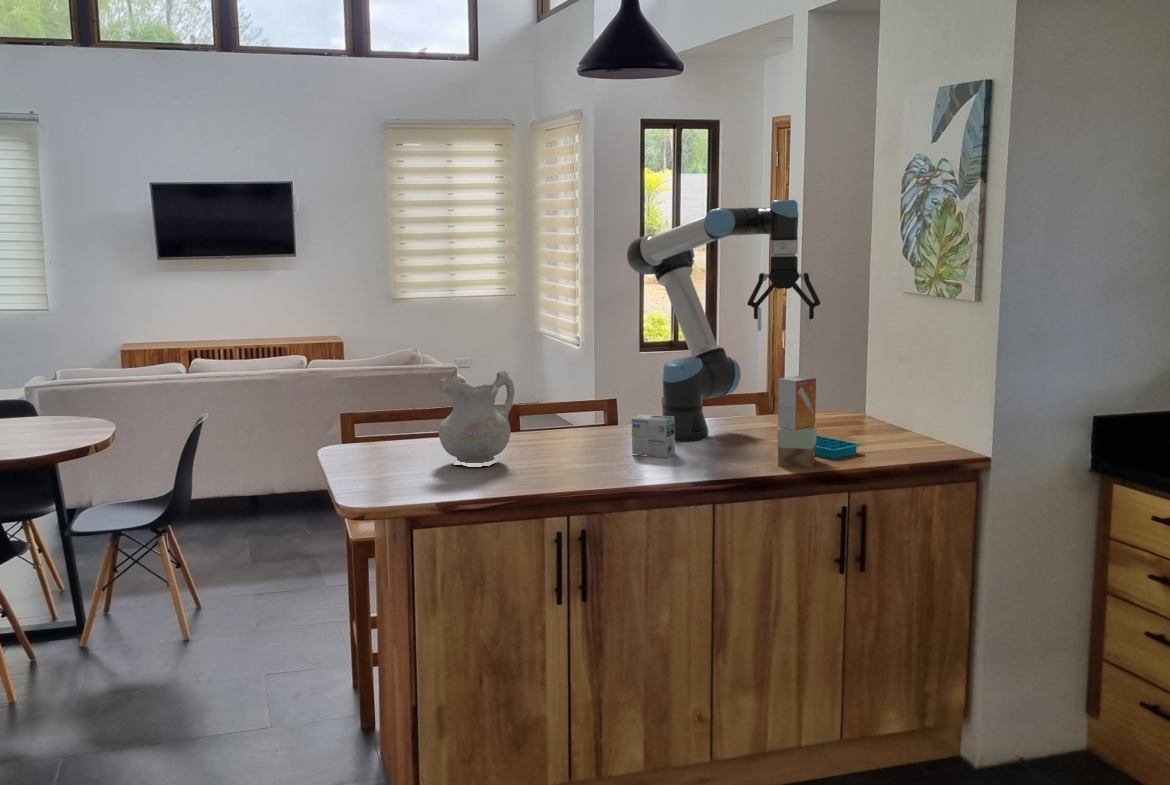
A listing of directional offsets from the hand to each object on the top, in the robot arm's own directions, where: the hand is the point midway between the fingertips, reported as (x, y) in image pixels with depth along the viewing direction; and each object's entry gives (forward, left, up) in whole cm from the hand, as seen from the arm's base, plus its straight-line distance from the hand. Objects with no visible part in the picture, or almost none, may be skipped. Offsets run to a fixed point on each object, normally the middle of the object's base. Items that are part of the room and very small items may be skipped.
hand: (783, 330), depth 307 cm
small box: (+6, -24, -23) cm, 33 cm away
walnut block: (+6, -24, -33) cm, 41 cm away
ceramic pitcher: (-79, -38, -33) cm, 94 cm away
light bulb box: (-34, -20, -33) cm, 51 cm away
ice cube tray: (+11, -8, -33) cm, 36 cm away
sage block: (+6, -24, -28) cm, 37 cm away
